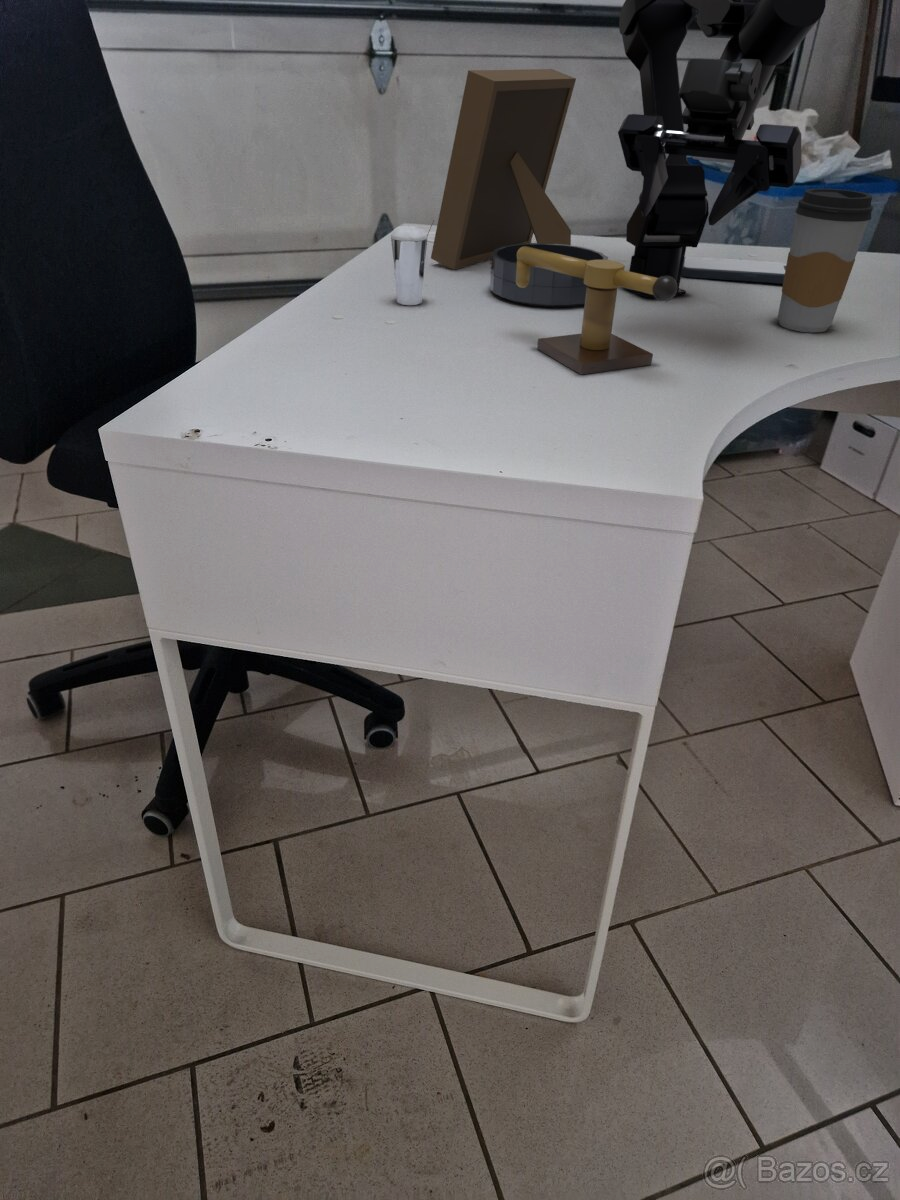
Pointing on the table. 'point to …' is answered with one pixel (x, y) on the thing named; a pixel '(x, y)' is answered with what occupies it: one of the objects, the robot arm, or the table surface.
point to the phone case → (734, 269)
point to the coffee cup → (822, 256)
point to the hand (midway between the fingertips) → (676, 217)
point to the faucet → (593, 273)
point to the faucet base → (594, 357)
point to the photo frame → (503, 165)
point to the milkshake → (409, 263)
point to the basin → (540, 277)
